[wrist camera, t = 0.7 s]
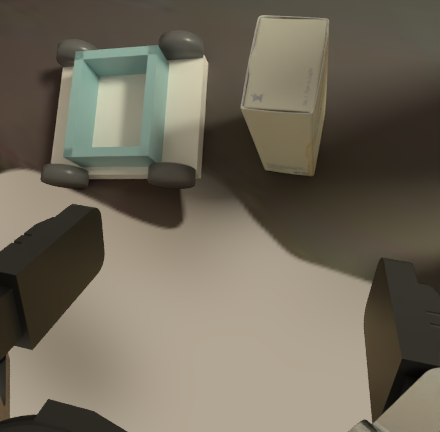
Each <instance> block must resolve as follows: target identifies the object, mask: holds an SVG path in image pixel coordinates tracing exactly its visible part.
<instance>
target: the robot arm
mask: <svg viewBox="0 0 440 432" xmlns="http://www.w3.org/2000/svg"><path fill="white" fill-rule="evenodd" d="M103 261H104V242H103V231H102V219H101V213H100V211H99V210H98V209H97V208H94V207H88V206H82V205H76V204H72V205H70V206H68V207H67V208H66V209H65V210H63V211H62V212H61V213H60V214H58V215H57V216H56V217H52V218H50V219H47V220H45V221H43V222H40V223H38V224H36V225H34V226H33V227H32V228H30V229H29V230H28V231H27V232H25V233H24V235H21V236H20V237H19V238H17V239H16V240H15V241H14V243H11V244H9V245H8V246H7V247H5V248H4V249H3V250H2V251H0V432H127V431H125V430H124V429H122V428H120V427H119V426H117V425H115V424H114V423H112V422H110V421H109V420H107V419H106V418H104V417H102V416H100V415H99V414H97V413H96V412H94V411H91V410H87V409H84V408H80V407H76V406H72V405H69V404H65V403H61V402H57V401H54V400H50V399H48V400H47V402H46V403H45V405H44V406H43V407H42V409H41V410H40V411H39V413H38V414H37V415H27V416H19V417H14V418H10V359H9V355H8V351H10V349H11V348H12V347H13V346H18V347H22V348H27V349H31V350H33V349H34V347H35V346H36V345H37V344H38V343H39V342H40V340H41V339H42V338H43V337H44V336H45V335H46V333H47V332H48V331H49V330H50V329H51V328H52V326H53V325H54V324H55V323H56V322H57V321H58V319H59V318H60V317H61V316H62V315H63V314H64V312H65V311H66V310H67V309H68V308H69V307H70V305H71V304H72V303H73V302H74V301H75V300H76V298H77V297H78V296H79V295H80V294H81V293H82V291H83V290H84V289H85V288H86V287H87V285H88V284H89V283H90V282H91V281H92V280H93V279H94V277H95V276H96V275H97V274H98V273H99V271H100V269H101V267H102V265H103ZM364 334H365V345H366V357H367V367H368V379H369V390H370V400H371V412H372V424H370V423H369V422H368V421H367V420H362V421H360V422H359V423H357V424H356V425H355V426H354V427H353V428H352V429H351V430H350V431H348V432H440V295H439V294H438V293H437V292H436V291H435V289H434V288H433V287H432V286H430V285H424V284H419V283H418V281H417V278H416V274H415V271H414V267H413V264H412V263H410V262H404V261H398V260H392V259H386V258H381V259H380V260H379V263H378V266H377V269H376V272H375V276H374V279H373V283H372V286H371V290H370V293H369V297H368V301H367V304H366V309H365V315H364Z"/></svg>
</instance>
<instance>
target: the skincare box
mask: <svg viewBox="0 0 440 432" xmlns="http://www.w3.org/2000/svg"><path fill="white" fill-rule="evenodd" d="M328 36H329V19H326V18H309V17H290V16H265V15H263V16H260V17H259V18H258V21H257V25H256V29H255V34H254V39H253V43H252V48H251V52H250V57H249V62H248V68H247V73H246V79H245V85H244V90H243V96H242V102H241V110H242V113H243V115H244V118H245V120H246V123H247V125H248V128H249V131H250V133H251V136H252V138H253V141H254V143H255V146H256V149H257V151H258V154H259V156H260V159H261V161H262V164H263V166H264V169H265V170H268V171H274V172H281V173H289V174H297V175H307V176H313V175H314V173H315V167H316V162H317V157H318V152H319V146H320V141H321V134H322V128H323V122H324V116H325V107H326V88H327V63H328Z"/></svg>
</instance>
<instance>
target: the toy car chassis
mask: <svg viewBox="0 0 440 432" xmlns="http://www.w3.org/2000/svg"><path fill="white" fill-rule="evenodd" d="M203 54H204V43H203V41H202V39H201V38H200V37H199V36H197V35H195V34H193V33H191V32H188V31H182V30H173V31H168V32H166V33H164V34H163V35H161V37H160V39H159V47H158V45H155V46H142V47H129V48H116V49H103V50H99V49H98V48H97V47H96V46H94V45H92V44H90V43H88V42H85V41H82V40H77V39H66V40H63V41H61V42H60V43H59V44H58V49H57V56H56V59H57V62H58V63H59V64H60V65H61V66H62V67H63V71H62V79H61V87H60V95H59V103H58V111H57V119H56V127H55V135H54V143H53V151H52V159H51V164H45V165H43V166H42V173H41V181H42V182H44V183H46V184H49V185H53V186H57V187H64V188H86V187H88V183H89V179H147V182H148V183H150V184H152V185H155V186H158V187H164V188H173V189H184V188H191V187H193V186H195V179H201V169H202V153H203V137H204V121H205V106H206V90H207V74H208V62H207V60H206V58H205V55H203Z"/></svg>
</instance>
